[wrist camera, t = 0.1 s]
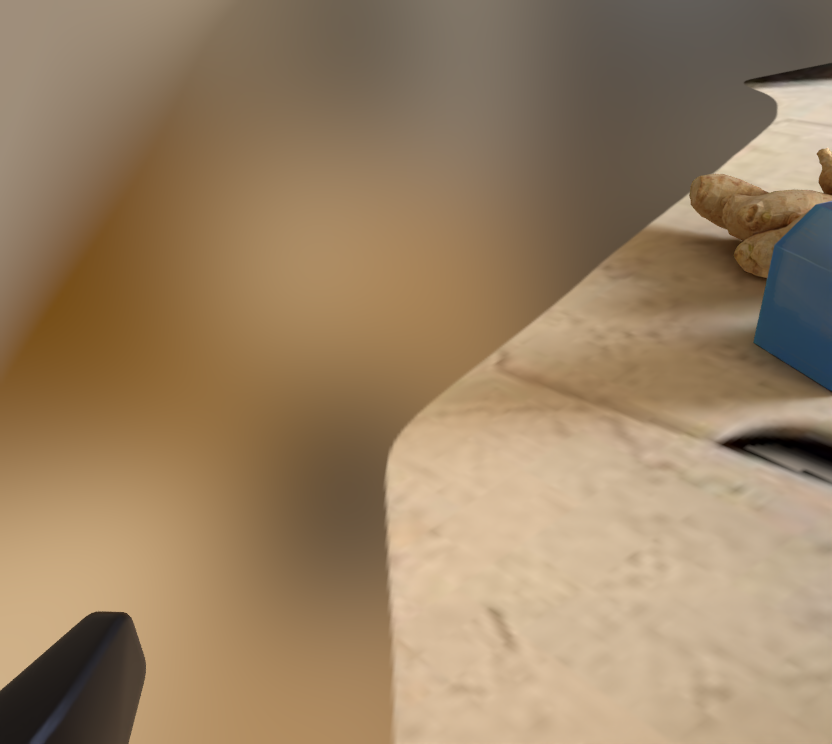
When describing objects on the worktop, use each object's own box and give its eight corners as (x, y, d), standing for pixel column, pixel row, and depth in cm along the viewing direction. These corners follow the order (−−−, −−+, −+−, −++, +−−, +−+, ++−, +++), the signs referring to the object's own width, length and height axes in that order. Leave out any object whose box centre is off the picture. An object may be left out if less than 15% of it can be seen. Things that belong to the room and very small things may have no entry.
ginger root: (1013, 304, 47) (1023, 172, 43) (729, 349, 51) (716, 233, 47) (912, 216, 60) (913, 110, 57) (693, 258, 64) (682, 161, 61)
